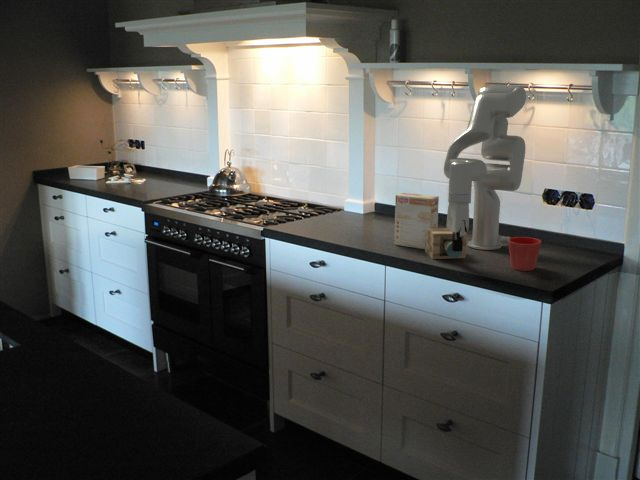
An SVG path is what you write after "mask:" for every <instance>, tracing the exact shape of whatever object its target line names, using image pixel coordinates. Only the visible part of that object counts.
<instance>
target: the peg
mask: <svg viewBox="0 0 640 480" xmlns="http://www.w3.org/2000/svg"><path fill="white" fill-rule="evenodd" d="M443 248H444V249H445V250H446V252H447V254H448V255H449V256H450V257H452V258H451V259H458V258H457V257H459V256H460V255H461V254H462V251H463V248H462V251H455V252H454V251H453V250H452V240H450V239H443Z"/></svg>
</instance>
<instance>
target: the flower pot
mask: <svg viewBox="0 0 640 480" xmlns="http://www.w3.org/2000/svg"><path fill="white" fill-rule="evenodd" d="M507 243H508V250H509V251H508V253H509V260H510V267H511V269H513V270H516V271H520V272H521V271H523V272H527V271H528V272H530V271H534V270H535V269H536V266H537V262H538V258H539V257H538V256H539V252H540V250H541V249H540V248H541V244H542V240H541V239H538V238H534V237H527V236H514V237H510V239H509V240H508V242H507Z"/></svg>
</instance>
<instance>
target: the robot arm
mask: <svg viewBox="0 0 640 480" xmlns="http://www.w3.org/2000/svg"><path fill="white" fill-rule="evenodd" d="M477 93H478V94H477V96H476V97H475V99H474V102H473V104H472V105H473V106H472V110H471V114H470V117H469V120H468V123H467V126H466V130H465V131H464V132H462V133H461V134H460V135H458V136H457V138H455V140H453V142H452V143H451V144H450V146H449V147H448V150H447V154H446V156H445V160H444V163H443V174H444V176H445V177H446V178H447V179H449V180H448V199H447V202H448V207H447V214H446V215H447V216H446V225H445V226H446V228H448V229H449V230H451V231H452V250H453V251H454V252H455V251H462V246H463V237H465V233H468V232H469V228H470V204H471V203H472V183H473V189H474V190H473V191H474V202H473V218H472V220H473V222H472V235H471V240H469V241H468V242H467V246H468V247H469V248H471V249H476V250H483V251H492V250H493V251H494V250H499V249H501V248H503V247H502V246H503V244H502V243H504V242H505V243H506V242H507V243H508V240H509V239H510V238H511V237H510V236H504V235H500V234H499V230H500V229H499V226H500V209H501V200H500V196H499V195H498V193H497V192H496V191H505V192H515V191H517V190H518V189H520V186H521V182H522V177H523V172H524V163H525V157H526V148H527V146H526V142H525V140H524V138H523V136H522V137H521V135H520V136H519V135H508V130H509V129H508V128H509V120H508V118H513V117H514V116H516V115H517V114H518V112H520V111H521V110H522V108H524V106H525V104H526V101H527V92H526V90H525V88H524V86H521V85H500V84H499V85H497V84H494V85H485V86H482V87H481V88H480V89H479V90H478V92H477ZM477 144H481V149H480V151H481V152H480V153H481V154H480V155H481V157H482V158H483V159H485V160H487V161H498V162H509V164H504V163H503V164H501V163H489V162H488V163H485V162H484V161H483V160H482V159H478V158H467V157H464V158H463V157H459V155H461V153H462V152H463V151H464V150H466V149H468V148H469V147H472V146H474V145H477Z"/></svg>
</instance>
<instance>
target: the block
mask: <svg viewBox="0 0 640 480" xmlns="http://www.w3.org/2000/svg"><path fill="white" fill-rule="evenodd" d="M467 233H468V232H466V233H465V237H463V246H462V248H463V251H462V254H461V255H460V256H459V257H457V258H456V259H466V256H467V253H466V252H467V238H468V237H467V236H468V234H467ZM443 239H450V240H452V231H451V230H449V229H448V228H447V227H437V228H426V241H425V249H424V252H425V253H426V255H428V256H429V257H430V258H431V259H432V260H437V259H439V260H442V259H449V260H450V259H453V258H452V257H450V256H449V255H448V254H447V252H446V250H445V249H444V248H443Z"/></svg>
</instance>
